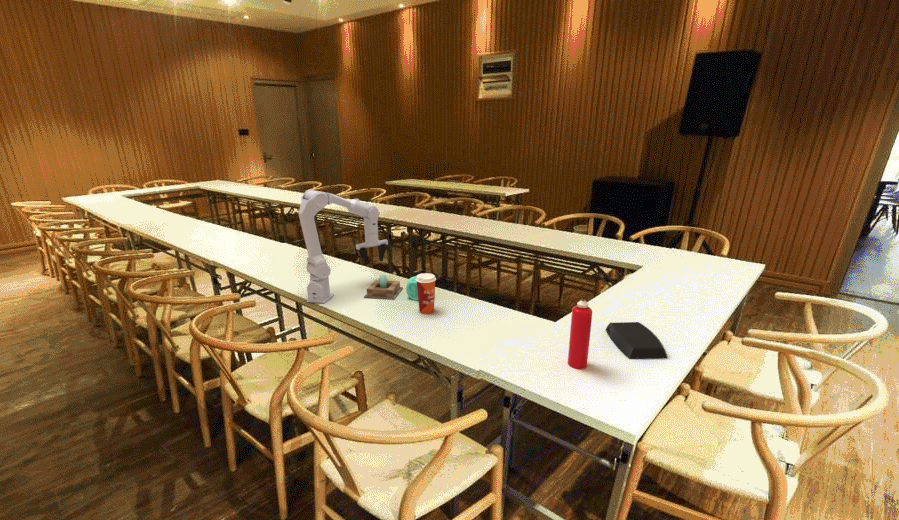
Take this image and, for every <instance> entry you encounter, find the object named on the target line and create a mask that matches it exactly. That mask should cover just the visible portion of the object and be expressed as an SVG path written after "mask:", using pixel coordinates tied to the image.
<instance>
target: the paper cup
mask: <svg viewBox="0 0 899 520" xmlns="http://www.w3.org/2000/svg"><path fill="white" fill-rule="evenodd" d="M416 276H417V278H416V281H417V292H418V301H417V302H418V310H419V313H421V314H432V313H434V311H435V296H436V280H437V278H436V275H435V274H433V273H429V272H428V273H427V272H424V273H419V274H417V275H416Z"/></svg>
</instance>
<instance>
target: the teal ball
mask: <svg viewBox="0 0 899 520" xmlns="http://www.w3.org/2000/svg"><path fill="white" fill-rule="evenodd" d="M416 278H417V275H415V276H412V277H410V278H409V279H408V280H407V283H406V287H405V291H406V295H407V297H409V298H410V299H411V300H413V301H417V302H418V292H417V281H416Z"/></svg>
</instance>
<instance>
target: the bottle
mask: <svg viewBox="0 0 899 520" xmlns="http://www.w3.org/2000/svg"><path fill="white" fill-rule="evenodd" d="M576 303H577V304H576V305H574V306H573V307H572V309H571V320H570V331H569V341H568V342H569V344H568V355H567V365H568V366H569V367H571V368H572V369H576V370H583V369H586V368H587V367H588V360H589V351H590V350H589V349H590V341H591V339H590V337H591V331H592V330H591V329H592V320H593V309H592V308H591V307H589V303H588V302H587V301H586V300H585V299H580V300H579V301H578V302H576Z"/></svg>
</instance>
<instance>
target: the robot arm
mask: <svg viewBox="0 0 899 520" xmlns="http://www.w3.org/2000/svg"><path fill="white" fill-rule="evenodd" d="M300 197H301V198H300V199H301V200H300V201H301V202H300V204H299V205H300V206H299V209H298V217H299V222H300V226H301V231H302V234H303V239H304V243H305V246H306V251H307V256H308V257H306V263H307V264H306V271H307V272H308V273H309V280H310V281H309V283H308V284H307V287H306V292H307V293H306V294H307V300H306V303H313V304H314V303H316V304H325V303H326V302H328V301H329V300H330V299H331V298H332V297H333V296H335V293H331V290H330V278H329V276H330V275H331V273H332V272H331V267H330V266H329V264H328V263H327V259H326V258H325V257H324V255H323V251H322V248H321V242H320V238H319V234H318V231H317V226H316V220H315V216H316V215H317V213H318V212H320V211H321V210H322V209H324V208H326V206H330V205H331V204H334V205H337V206H340V207H343V208H346V209H347V211H348V213H350V214H354V215H356V216H360V217H362V218H363V225H364V226H363V227H364V240H365V242H362V243H357V244H355V249H356V250H357V251H358V252H359V255H360V257H361V258H362V262H363V265H368V257H367V256H368V250H367V249H368V248H374V247H377V251H378V259H379V261H380V262H383V261H384V257H385V253H386V251H387V249H388V245H389V242H388V241H389V240H387V239H381V240H380V239H379V228H378V227H379V226H378V222H379V221H378V220H379V216H380V211H379V209H378V207H377V206H374V205H372V204H371V205H370V203H368V202H364V201H360V199H359V198H353V199H350V200H348V199H347V198H344V197H341V196H340V195H339V196H338V195H336V194H334V193H331V192H324V191H319V190H315V189H308V190H306V191H305V192H304V193H303V194H302V195H301V196H300Z"/></svg>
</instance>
